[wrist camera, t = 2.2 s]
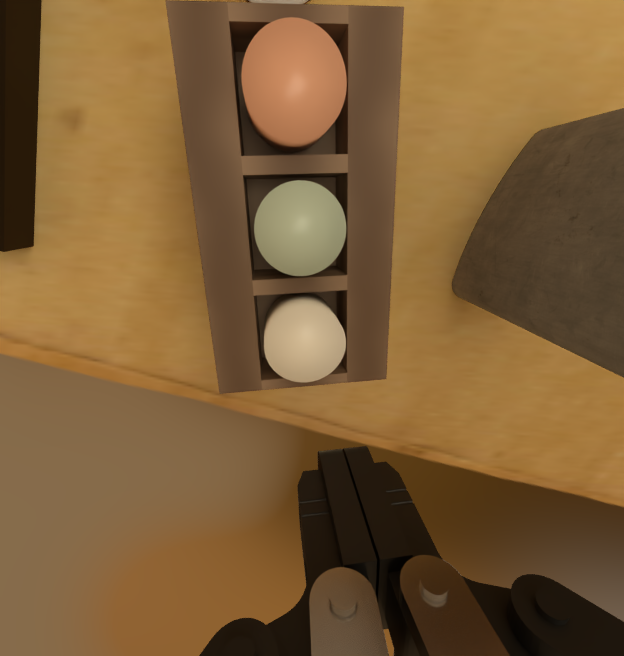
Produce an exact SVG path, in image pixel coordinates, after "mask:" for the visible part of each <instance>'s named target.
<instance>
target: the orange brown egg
mask: <svg viewBox="0 0 624 656" xmlns="http://www.w3.org/2000/svg"><path fill="white" fill-rule="evenodd" d="M241 76H242V88H243V94H244V99H245V104H246V108H247V113H248V116H249V119H250V122H251V124H252V126H253V128H254V129H255V131H256V132H257V134H258V135H259V136H260V137H261V138H262V139H263V140H264V141H265V142H266V143H268V144H269V145H270V146H272V147H274V148H276V149H279V150H282V151H288V152H295V151H301V150H304V149H307V148H309V147H311V146H312V145H314V144H315V143H316V142H318V140H319V139H320V138H321V137H322V136H323V135H324V134H325V133H326V131H327V130H328V129H329V128H330V127H331V126H332V124H333V123H334V122H335V120H336V119H337V117H338V115H339V114H340V112H341V109H342V107H343V104H344V100H345V95H346V87H347V78H346V70H345V65H344V61H343V58H342V56H341V53H340V51H339V49H338V47H337V45H336V44H335V42H334V41H333V39H332V38H331V37H330V36H329V35H328V34H327V32H325V31H324V30H323V29H322V28H321V27H319V26H318V25H316V24H315V23H313V22H310V21H308V20H305V19H302V18H295V17H288V18H281V19H278V20H275V21H273V22H271V23H269V24H267V25H266V26H264V27H263V28H262V29H261V30H260V31H259V32H258V33H257V34H256V35H255V36H254V38H253V39H252V41H251V42H250V44H249V46H248V48H247V50H246V53H245V56H244V59H243V64H242V74H241Z"/></svg>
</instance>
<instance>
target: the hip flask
mask: <svg viewBox="0 0 624 656" xmlns="http://www.w3.org/2000/svg"><path fill="white" fill-rule="evenodd" d="M452 289H453V292H454V293H455V294H456V295H457V296H458V297H460V298H462V299H464V300H466V301H468V302H470V303H472V304H474V305H477V306H479V307H481V308H483V309H485V310H487V311H489V312H491V313H493V314H495V315H497V316H499V317H501V318H503V319H505V320H507V321H509V322H511V323H513V324H515V325H517V326H519V327H522V328H524V329H526V330H528V331H530V332H532V333H534V334H536V335H538V336H540V337H542V338H544V339H546V340H548V341H550V342H552V343H554V344H556V345H558V346H560V347H562V348H564V349H566V350H569V351H571V352H573V353H575V354H577V355H579V356H581V357H583V358H585V359H587V360H589V361H591V362H593V363H595V364H597V365H599V366H601V367H603V368H605V369H607V370H609V371H611V372H614V373H616V374H618V375H620V376H622V377H624V108H622V109H619V110H615V111H611V112H607V113H603V114H600V115H596V116H592V117H588V118H585V119H581V120H577V121H573V122H569V123H566V124H562V125H558V126H554V127H551V128H547V129H543V130H541V131H539V132H537V133H536V134H535V135H534V136H533V137H532V138H531V139H530V141H529V142H528V143H527V145H526V146H525V147H524V148H523V150H522V151H521V152H520V154H519V155H518V156H517V158H516V159H515V161H514V162H513V163H512V165H511V166H510V168H509V169H508V171H507V172H506V174H505V175H504V177H503V178H502V180H501V181H500V183H499V185H498V186H497V188H496V190H495V191H494V193H493V195H492V196H491V198H490V200H489V201H488V203H487V205H486V207H485V209H484V210H483V212H482V214H481V216H480V218H479V220H478V222H477V224H476V226H475V228H474V229H473V231H472V234H471V236H470V238H469V240H468V242H467V244H466V247H465V249H464V251H463V254H462V256H461V259H460V261H459V264H458V266H457V269H456V272H455V275H454V278H453V281H452Z"/></svg>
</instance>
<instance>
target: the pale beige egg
mask: <svg viewBox="0 0 624 656" xmlns="http://www.w3.org/2000/svg"><path fill="white" fill-rule="evenodd" d="M345 348H346V337H345V333H344V330H343V328H342V326H341V324H340V322H339V321H338V319H337V317H336V316H335V314H334V312H333V311H332V309H331V308H330V306H329V305H328V303H327V302H326V301H325V300H324V299H322V298H321V297H319V296H318V295H315V294H313V293H310V292H307V293H290V294H286V295H284V296H282V297H280V298H279V299H277V300H276V301H275V302H274V303H273V304H272V306H271V307H270V308H269V310H268V312H267V314H266V317H265V323H264V352H265V356H266V359H267V361H268V363H269V365H270V366H271V368H272V369H273V370H274V371H275V372H276V373H277V374H278V375H280V376H281V377H283V378H285V379H287V380H290V381H294V382H312V381H316V380H319V379H322V378H324V377H325V376H327V375H329V374H330V373H331V372H332V371H333V370H335V368H336V367H337V366H338V365H339V363H340V362H341V360H342V358H343V356H344V353H345Z"/></svg>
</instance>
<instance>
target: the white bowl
mask: <svg viewBox="0 0 624 656" xmlns="http://www.w3.org/2000/svg"><path fill="white" fill-rule="evenodd" d="M248 1H250V2H251V3H280V4H304V3H306V2H307V1H309V0H248Z"/></svg>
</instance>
